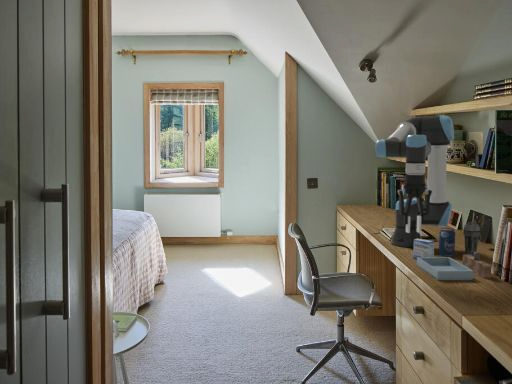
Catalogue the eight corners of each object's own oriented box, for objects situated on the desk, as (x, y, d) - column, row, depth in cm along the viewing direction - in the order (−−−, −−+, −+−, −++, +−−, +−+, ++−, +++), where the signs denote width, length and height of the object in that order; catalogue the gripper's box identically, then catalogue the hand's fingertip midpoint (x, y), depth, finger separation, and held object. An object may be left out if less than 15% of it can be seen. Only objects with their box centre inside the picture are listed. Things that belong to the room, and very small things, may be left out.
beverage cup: (459, 254, 233) (461, 212, 230) (466, 252, 237) (468, 210, 235) (474, 257, 227) (476, 214, 225) (482, 255, 232) (484, 212, 229)
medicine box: (412, 258, 225) (413, 239, 224) (417, 256, 229) (418, 238, 228) (429, 261, 220) (429, 242, 219) (433, 259, 223) (434, 240, 222)
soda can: (446, 256, 228) (447, 231, 227) (435, 253, 234) (436, 228, 233) (457, 255, 231) (458, 229, 230) (446, 252, 237) (447, 227, 236)
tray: (416, 265, 213) (416, 257, 213) (448, 265, 214) (449, 257, 213) (437, 280, 191) (437, 271, 191) (473, 279, 192) (473, 270, 191)
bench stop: (462, 266, 212) (463, 247, 211) (469, 266, 212) (470, 247, 211) (483, 278, 194) (484, 258, 193) (490, 278, 194) (491, 257, 193)
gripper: (397, 174, 193) (395, 234, 196) (440, 174, 194) (437, 233, 197) (391, 173, 201) (389, 230, 203) (432, 173, 201) (430, 230, 204)
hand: (413, 232), depth 200 cm, fingers open, 4 cm apart
